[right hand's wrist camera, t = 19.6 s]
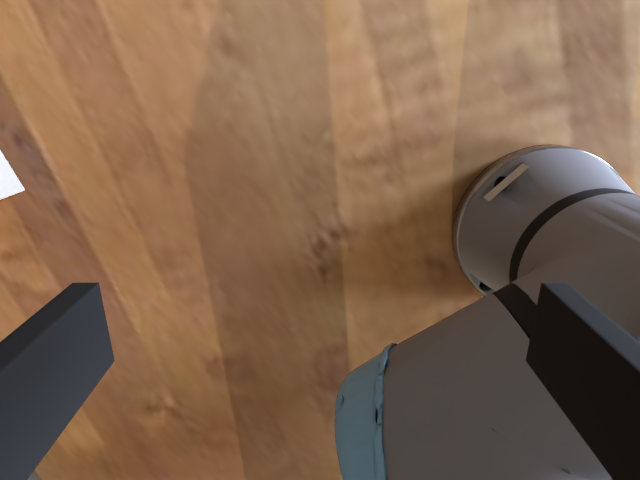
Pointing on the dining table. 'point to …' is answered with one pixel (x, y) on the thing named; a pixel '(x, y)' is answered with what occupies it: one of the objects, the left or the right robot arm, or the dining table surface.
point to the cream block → (8, 179)
